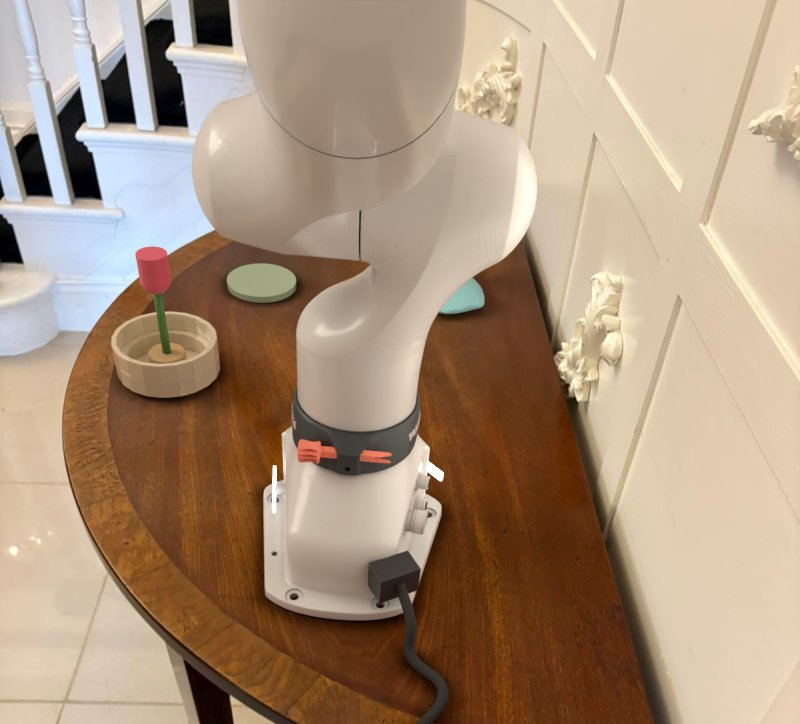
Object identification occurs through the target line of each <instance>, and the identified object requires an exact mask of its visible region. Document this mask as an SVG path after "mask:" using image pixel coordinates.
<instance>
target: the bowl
mask: <svg viewBox="0 0 800 724" xmlns="http://www.w3.org/2000/svg"><path fill="white" fill-rule="evenodd" d="M165 315H166V322H167V328H168V335H169V341H170V343H176V344H179V345H181V346H183V347H184V349H185V351H186V359H187V360H183V361H179V362H175V363H163V364H156V363H150V361H149V356H148V352H149V350H150V349H151V348H152V347H153V346H155V345H157V344H161V339H160V333H159V327H158V321H157V315H156V311H155V312H150V313H146V314H140V315H137V316H135V317H133V318H130V319H128V320H126V321H124V322H123V323H122V324H121V325H119V326H118V327H117V328H115V330H114V331H113V334H112V335H111V338H110V339H111V341H110V342H111V345H110V346H111V350H112V356H113V360H114V364H115V368H116V369H115V370H116V373H117V377H118V379H119V381H120V382H121V384H122V385H123V386H124V387H125V388H126V389H128V390H130V391H131V392H133V393H135V394H138V395H141V396H145V397H148V398H149V397H150V398H159V399H166V398H167V399H169V398H177V397H178V398H179V397H184V396H188V395H191V394H195V393H198V392H199V391H201V390H203V389H205V388H207V387H209V386H210V385H211V384H212V383H213V382H214V381H215V380H217V378H218V376H219V373H220V370H221V363H220V362H221V361H220V353H219V352H220V351H219V343H218V342H219V341H218V336H217V331H216V329H215V327H214V326H213V325H212V324H211V323H210V322H209V321H207V320H206V319H204V318H202V317H200V316H198V315H195V314H191V313H188V312H181V311H172V310H171V311H170V310H169V311H165Z"/></svg>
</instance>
